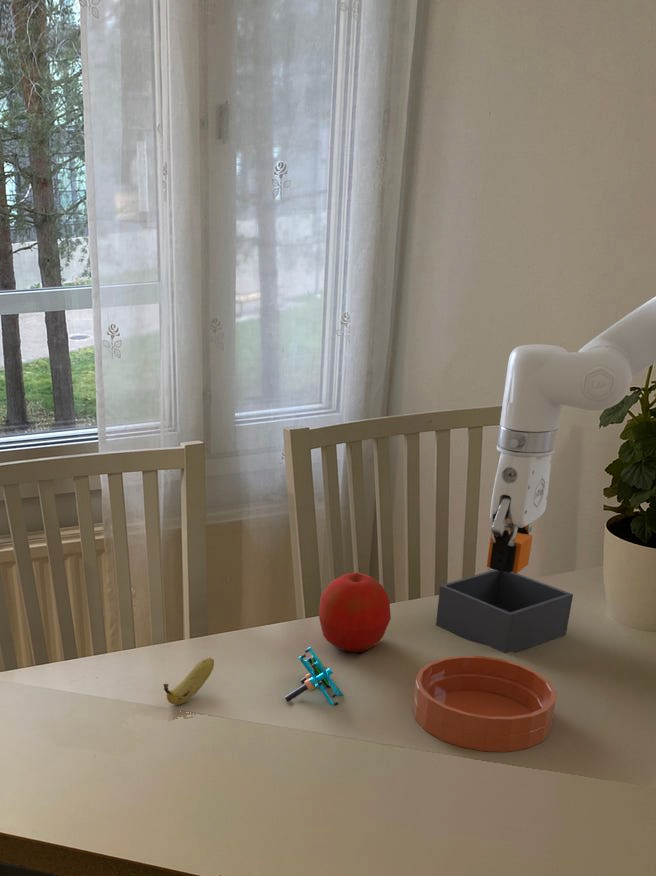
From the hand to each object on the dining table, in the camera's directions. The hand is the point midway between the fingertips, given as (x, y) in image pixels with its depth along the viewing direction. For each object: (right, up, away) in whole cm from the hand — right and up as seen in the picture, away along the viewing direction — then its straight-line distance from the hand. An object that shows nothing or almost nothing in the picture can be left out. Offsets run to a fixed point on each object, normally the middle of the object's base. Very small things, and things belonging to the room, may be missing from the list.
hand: (508, 563), depth 132 cm
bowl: (-11, -21, -19) cm, 30 cm away
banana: (-47, -19, -12) cm, 52 cm away
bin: (0, -10, +4) cm, 11 cm away
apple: (-23, -12, +1) cm, 26 cm away
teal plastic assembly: (-30, -18, -12) cm, 38 cm away
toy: (0, 0, 0) cm, 0 cm away
